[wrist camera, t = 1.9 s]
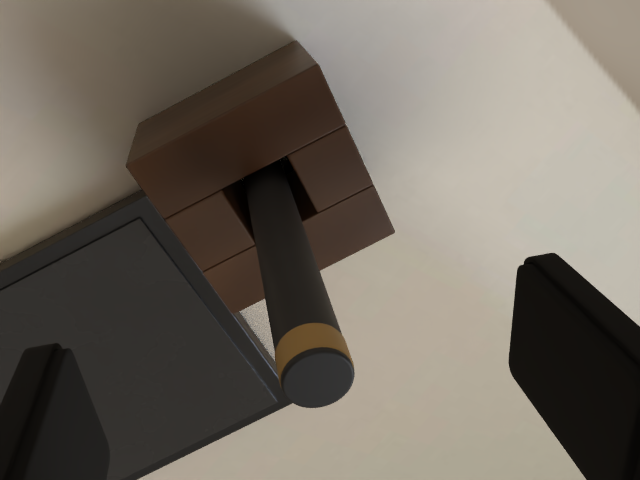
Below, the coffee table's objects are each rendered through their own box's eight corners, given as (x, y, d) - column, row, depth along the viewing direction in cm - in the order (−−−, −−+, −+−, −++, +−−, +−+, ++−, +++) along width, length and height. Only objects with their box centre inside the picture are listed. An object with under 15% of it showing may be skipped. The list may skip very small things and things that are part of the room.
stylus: (232, 149, 20) (266, 373, 10) (267, 131, 20) (337, 338, 10) (250, 181, 21) (300, 421, 11) (284, 164, 21) (367, 388, 11)
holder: (137, 124, 19) (124, 165, 16) (297, 39, 19) (318, 63, 16) (227, 256, 22) (232, 315, 19) (365, 186, 22) (395, 233, 19)
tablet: (-216, 376, 21) (-234, 395, 20) (149, 184, 20) (147, 196, 20) (4, 530, 27) (-2, 550, 27) (293, 388, 27) (297, 403, 26)
